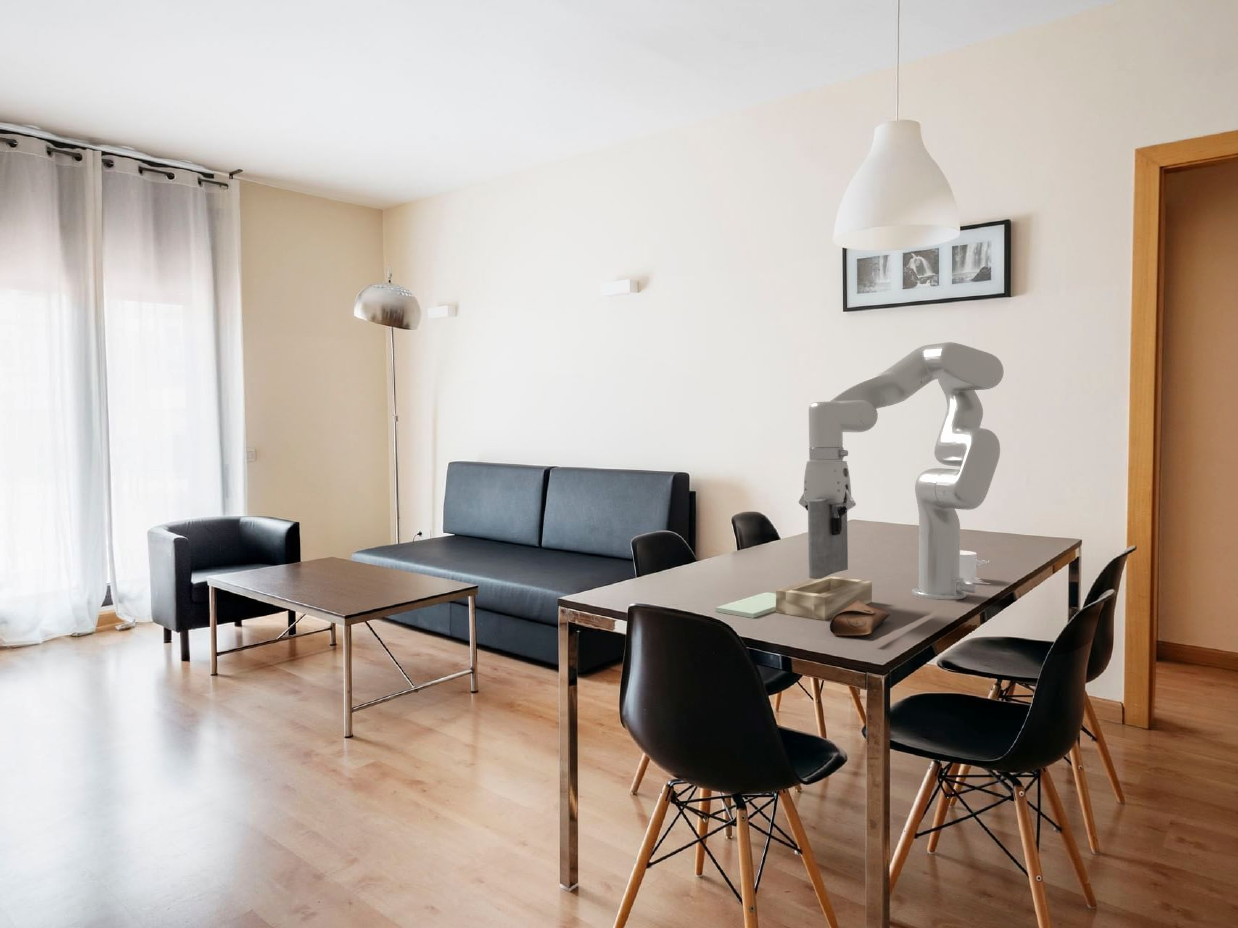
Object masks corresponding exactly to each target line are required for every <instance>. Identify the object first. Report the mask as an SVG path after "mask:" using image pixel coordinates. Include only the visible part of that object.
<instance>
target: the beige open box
mask: <svg viewBox="0 0 1238 928" xmlns="http://www.w3.org/2000/svg"><path fill="white" fill-rule="evenodd" d="M775 594H776V611H775V613H778V614H784V615H790V616H797V617H802V618H809V619H816V620H821V621H827V620H829V619H833V617H834V616H835V615H836V614H838V613H840V612H841V611H843V610H844V609H845V608H847V607H848V606H850V605H852V604H853V603H854V602H855V601H856V600H858V601H860V602H862V603H864V604H865V605H868V604H870V603H872V602H873V600H872V599H873V581H872V580H864V579H856V578H850V577H849V578H848V577H839V576H833V575H832V576H831V575H828V576H826V577H824V578H822V579H810V580H807V581H802V582H800V583H799V582H798V583H797V584H793V585H789V586H786V587H783V588H780V589H777V590H775Z"/></svg>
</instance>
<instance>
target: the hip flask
mask: <svg viewBox="0 0 1238 928" xmlns="http://www.w3.org/2000/svg"><path fill="white" fill-rule="evenodd" d="M846 504H847V503H842V507H843V506H845V505H846ZM832 518H834V515H833V510H832V505H829V504H828V499H812V500H808V511H807V533H808V534H807V535H808V537H807V538H808V539H807V540H808V578H809V579H810V580H813V579H822V578H824V577H826V576H831V575H833V574H836V573H839V572H842V571H843V572H844V571H847V570H849V561H848V559H849V557H848V555H849V552H848V548H849V547H848V511H847V512H846V513H845V514H844V516H843V517H842V530H841V533H840V534H839V535H835V536H834V535H832V526H831V519H832Z"/></svg>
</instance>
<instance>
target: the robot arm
mask: <svg viewBox="0 0 1238 928" xmlns="http://www.w3.org/2000/svg"><path fill="white" fill-rule="evenodd" d="M1003 377H1004V366H1003V363H1002V362H1001V360H1000V359H999V358H998V357H997V356H996V355H994V354H993V353H990V352H987V351H984V350H980V349H977V348H974V347H971V346H969V345H965V344H961V343H957V342H949V341H948V342H942V343H933V344H926V345H922V346H919V347H917V348H916V349H914V350H912V351H911V352H910V353H908V354H907V355H905V356H904V357H903V358H901V359H900V360H898V361H897V362H895V363H894V364H893V365H892V366H891V365H890V367H889V368H887V369H886V370H884V371H882V372H880V373H878V374H875V375H874V376H872V377H870V378H868V379H865V380H863V381H861V382H859V383H857V384H855V385H852V386H850V387H849V388H848V389H846V390H844V391H842V392H841V393H839V394H838V395H837V396H835V397H833V398H832V399H830V401H814V402H812V403H810V404H809V407H808V440H809V441H808V447H809V448H808V450H809V451H808V454H809V456H808V457H809V459H808V461H807V462H806V464H805V470H804V477H803V478H804V479H803V494H802V495H801V496H800V499H799V501H798V503H799V505H800V506H802V507H803V508H804V509H805V510H806V511H807V512H808V500H812V499H828V504H829V505H832V510H833V515H834V518H832V519H831V526H832V535H834V536H835V535H839V534H840V533H841V530H842V517H843V516H844V514H845V513H846V512H847V513H848V512H849V510H852V509H853V508H855V507H856V506H857V503H856V501H855V500H854V498H853V496H852V486H851V477H850V471H849V466H848V461H847V460H844V457H848V456H849V451H848V450H847V449H844V446H843V445H844V444H843V443H844V442H843V441H844V439H843V437H844V435H843V433H865V432H867V431H869V430H871V429H872V428H873V427H875V426H876V424H877V422H878V418H879V417H878V416H879V415H878V411H877V410H878V409H881V408H885V407H890V406H895V405H896V404H899V403H901V402H902V403H903V402H904V401H906V400H908V399H909V398H911V396H914V395H915V394H916V393H917V392H918V391H920V390H921V389H923V388H924V387H925V386H927V385H928V384H930V383H931V382H933V381H934V380H937V383H938V384H939V386H940V389H941V390H942V392H943V394H944V396H945V400H946V405H947V407H946V408H947V409H946V413H945V416H944V420H943V422H942V425H941V427H940V431H939V434H938V435H937V439H936V443H935V446H934V451H933V452H934V457H935V459H936V461H938V462H939V463H940V464H942V465H944V466H949V467H950V466H951V467H960V468H959V469H955V468H941V467H940V468H937V467H936V468H935V467H934V468H930V469H926V470H924V471H923V472H921V473H920V474H919V475H918V476H917V479H916V480H915V483H914V492H915V493H914V494H915V497H916V503H917V509H918V527H919V528H918V586H915V587H913V588H912V589H911V593H912V595H913V596H916V597H919V598H924V599H928V600H929V599H931V600H940V601H941V600H943V601H944V600H947V601H948V600H949V601H954V600H957V601H958V600H962V599H965V598H966V597H967V593H973V594H976V593H977V591H978V585H976V583H972V584H965V582H964V578H960V550H961V522H960V519H959V515H958V513H957V511H956V510H962V511H963V510H964V511H969V510H970V511H971V510H975V509H977V508H979V507H980V506H981V505H982V504H983V502H985V499H986V497H987V495H988V493H989V490H990V486H991V484H992V481H993V478H994V475H995V472H996V469H997V467H998V464H999V459H1000V455H1001V446H1000V445H1001V444H1000V440H999V437H998V436H997V435H996V433H995V432H993V431H992V430H990V429H988V428H982V427H981V424H982V421H983V416H984V409H983V404H982V402H981V400H980V398H979V396H978V394H977V393H976V391H984V390H990V389H993V388H995V387H996V386H998V385H999V384H1000V383H1001V382H1002V380H1003ZM842 503H847V504H846V505H845V506H843V507H842Z"/></svg>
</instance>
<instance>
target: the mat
mask: <svg viewBox="0 0 1238 928" xmlns="http://www.w3.org/2000/svg"><path fill="white" fill-rule="evenodd" d="M714 609H715V612H716V613H722V614H728V615H734V616H740V617H745V618H751V619H755V618H757V617H761V616H763V615H767V614H771V613H773V612H776V592H774V593H773V592H766V591H765V592H761V593H759V594H755V595H752V596H749V597H746V598H742V599H739V600H736V601H732V602H728V603H726V604H722V605H719V606H716V607H715V608H714Z"/></svg>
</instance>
